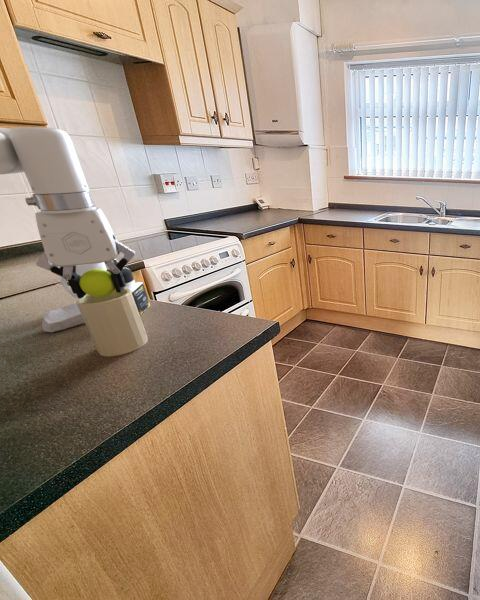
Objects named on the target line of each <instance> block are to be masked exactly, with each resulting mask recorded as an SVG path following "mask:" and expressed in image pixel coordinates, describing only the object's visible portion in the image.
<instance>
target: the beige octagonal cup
mask: <svg viewBox="0 0 480 600" xmlns="http://www.w3.org/2000/svg"><path fill="white" fill-rule="evenodd" d="M75 303H77V306H78V308H79V310H80V313H81V315H82V317H83V319H84V322H85V323H84V324H85V326H86V328H87V331H88V333H89V336H90V337H91V340H92V342H93V344H94V346H95V349H96V351H97V353H98V355H100V356H102V357H116V356H122V355H125V354H128V353H131V352H134V351H137V350H138V349H140V348H142V347H143V346H145V345H146V344H147V343H148V342H149V337H148V335H147V331H146V329H145V326H144V322H143V321H142V318H141V316H140V315H139V312H138V309H137V306H136V304H135V301H134V298H133V295H132V293H131V290H130V289H127V288H124V289H123V291H122V292H120V293H118V292H116V289H114V291H113V292H112V293H110V294H109V295H106V296H102V297H95V296H91V295H88V294H87V295H85V296H84V297H83V298H78V297H77V299H76V300H75Z"/></svg>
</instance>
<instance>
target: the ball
mask: <svg viewBox="0 0 480 600" xmlns="http://www.w3.org/2000/svg"><path fill="white" fill-rule="evenodd" d="M79 284H80V287H81V289H82V290H83V291H84V292H85V293H86V294H88V295H91V296H95V297H102V296H106V295H109V294H110V293H112V292H113V291H114V289H115V287H114V284H113V281H112V279H111V273H109V272H107V271H105V270H101V269H94V270H90V271H87V272H85V273H84V274H83V275H82V276H81V278H80V281H79Z"/></svg>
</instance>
